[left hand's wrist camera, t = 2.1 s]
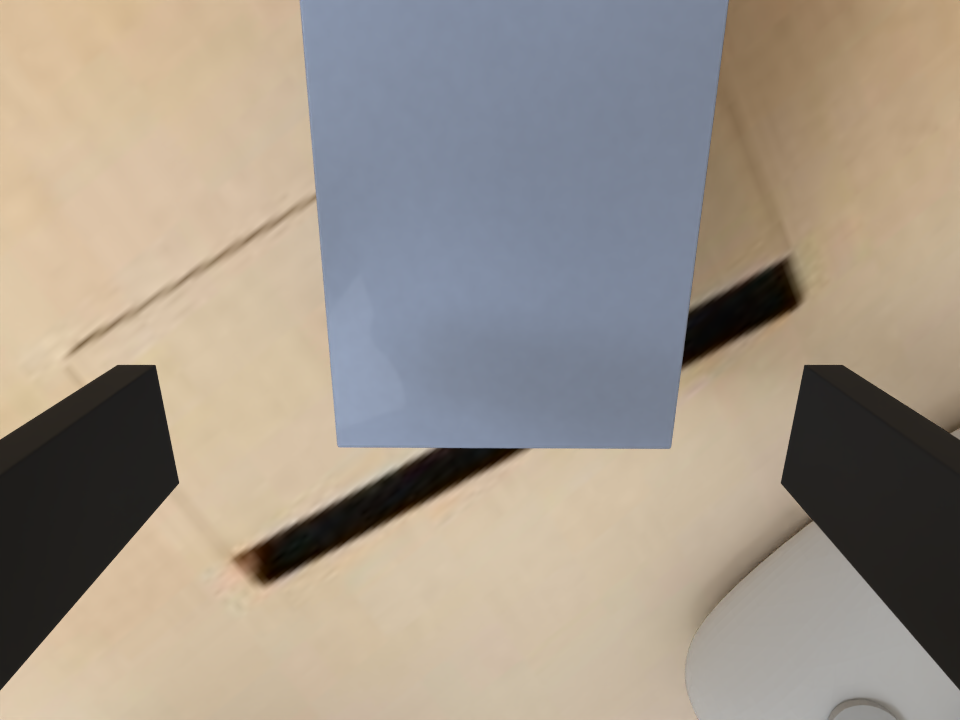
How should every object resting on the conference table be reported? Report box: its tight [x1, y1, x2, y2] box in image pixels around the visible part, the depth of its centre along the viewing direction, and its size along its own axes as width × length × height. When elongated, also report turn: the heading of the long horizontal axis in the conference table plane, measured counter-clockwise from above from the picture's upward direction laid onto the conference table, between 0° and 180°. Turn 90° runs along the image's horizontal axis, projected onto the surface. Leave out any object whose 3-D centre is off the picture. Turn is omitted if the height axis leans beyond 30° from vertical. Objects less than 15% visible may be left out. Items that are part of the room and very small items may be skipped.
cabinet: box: [300, 0, 729, 449], centre depth 21 cm, size 20×11×10 cm, turn 0°
